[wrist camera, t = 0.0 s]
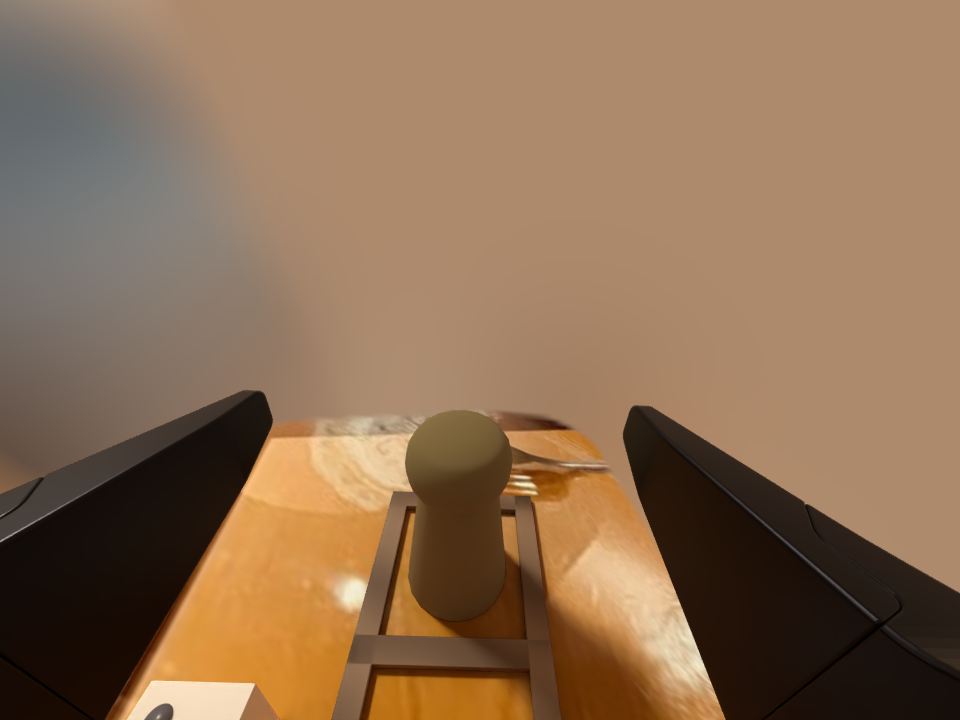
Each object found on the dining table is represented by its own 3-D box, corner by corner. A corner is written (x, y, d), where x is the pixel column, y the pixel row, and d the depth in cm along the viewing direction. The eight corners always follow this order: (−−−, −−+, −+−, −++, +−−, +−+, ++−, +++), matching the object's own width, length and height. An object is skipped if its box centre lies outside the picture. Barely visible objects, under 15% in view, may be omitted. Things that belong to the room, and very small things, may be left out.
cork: (506, 526, 24) (522, 398, 19) (505, 627, 19) (527, 489, 14) (420, 518, 25) (411, 389, 19) (396, 615, 19) (374, 475, 14)
